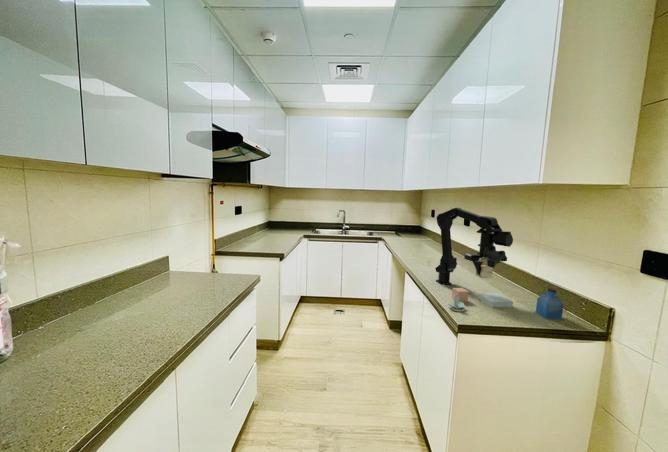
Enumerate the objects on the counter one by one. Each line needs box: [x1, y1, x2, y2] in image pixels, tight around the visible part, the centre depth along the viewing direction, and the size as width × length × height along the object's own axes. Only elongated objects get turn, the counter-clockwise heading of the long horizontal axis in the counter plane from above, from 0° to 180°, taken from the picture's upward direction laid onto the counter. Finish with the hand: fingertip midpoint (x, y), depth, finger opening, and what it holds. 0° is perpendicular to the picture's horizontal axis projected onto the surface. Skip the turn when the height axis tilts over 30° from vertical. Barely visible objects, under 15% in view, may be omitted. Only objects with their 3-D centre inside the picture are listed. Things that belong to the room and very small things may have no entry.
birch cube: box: [475, 264, 494, 279], centre depth 130 cm, size 5×5×5 cm
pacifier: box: [447, 294, 467, 312], centre depth 116 cm, size 7×6×6 cm
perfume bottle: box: [535, 286, 565, 321], centre depth 112 cm, size 6×6×12 cm
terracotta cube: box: [451, 287, 469, 303], centre depth 127 cm, size 5×5×5 cm
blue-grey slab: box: [477, 292, 514, 308], centre depth 125 cm, size 10×10×3 cm
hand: (484, 274), depth 130 cm, fingers closed on birch cube, 5 cm apart
